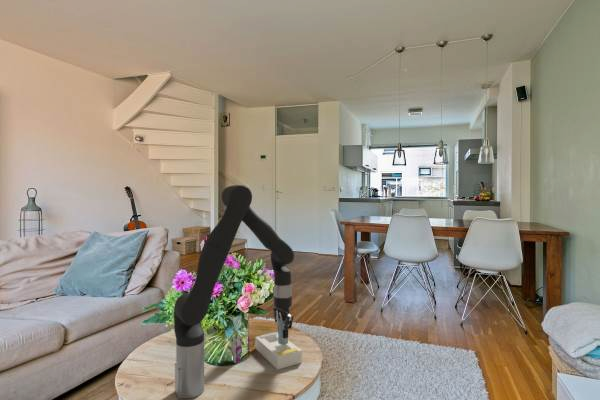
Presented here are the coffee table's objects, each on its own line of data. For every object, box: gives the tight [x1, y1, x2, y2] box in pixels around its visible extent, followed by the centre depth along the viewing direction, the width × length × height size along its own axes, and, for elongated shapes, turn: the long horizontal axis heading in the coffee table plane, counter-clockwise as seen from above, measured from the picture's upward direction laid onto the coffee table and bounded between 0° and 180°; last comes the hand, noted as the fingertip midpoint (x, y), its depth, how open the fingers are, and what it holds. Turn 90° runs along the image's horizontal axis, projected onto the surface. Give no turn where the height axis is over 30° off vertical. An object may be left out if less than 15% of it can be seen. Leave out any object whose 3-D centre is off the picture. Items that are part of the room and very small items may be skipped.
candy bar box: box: [232, 314, 250, 364], centre depth 142 cm, size 11×5×16 cm, turn 161°
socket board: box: [254, 331, 303, 371], centre depth 143 cm, size 11×22×5 cm, turn 30°
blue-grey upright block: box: [277, 318, 289, 345], centre depth 139 cm, size 4×4×10 cm
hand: (283, 335), depth 139 cm, fingers closed on blue-grey upright block, 4 cm apart
